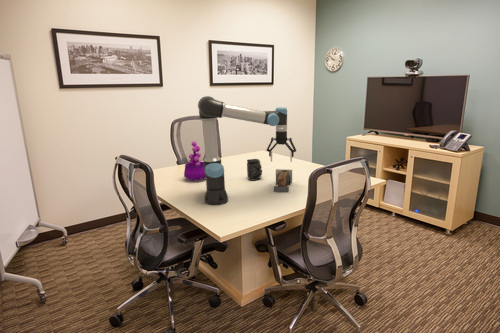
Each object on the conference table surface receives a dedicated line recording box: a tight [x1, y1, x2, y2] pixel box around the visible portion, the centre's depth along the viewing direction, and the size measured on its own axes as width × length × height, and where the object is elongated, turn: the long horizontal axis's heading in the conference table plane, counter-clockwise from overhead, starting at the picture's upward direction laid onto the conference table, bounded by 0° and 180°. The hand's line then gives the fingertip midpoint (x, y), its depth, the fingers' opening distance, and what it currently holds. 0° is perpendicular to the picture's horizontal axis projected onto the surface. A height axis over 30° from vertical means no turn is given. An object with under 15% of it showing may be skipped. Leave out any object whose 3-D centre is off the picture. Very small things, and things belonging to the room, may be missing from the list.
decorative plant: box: [183, 141, 206, 182], centre depth 252 cm, size 19×18×30 cm
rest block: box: [272, 185, 290, 193], centre depth 224 cm, size 10×4×4 cm, turn 78°
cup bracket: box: [275, 168, 293, 186], centre depth 238 cm, size 12×6×10 cm, turn 78°
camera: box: [246, 158, 263, 181], centre depth 251 cm, size 10×10×15 cm
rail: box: [277, 172, 287, 187], centre depth 230 cm, size 4×16×6 cm, turn 166°
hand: (281, 161), depth 227 cm, fingers open, 13 cm apart
